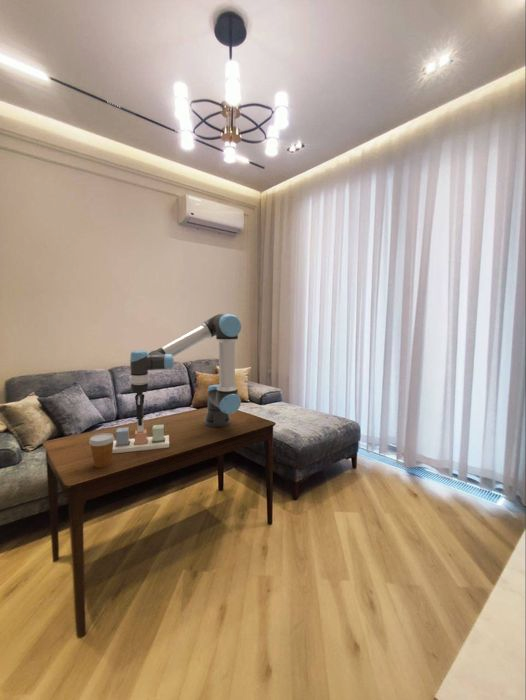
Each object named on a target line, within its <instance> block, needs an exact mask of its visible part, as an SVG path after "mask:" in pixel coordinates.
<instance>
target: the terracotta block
mask: <svg viewBox="0 0 526 700" xmlns="http://www.w3.org/2000/svg"><path fill="white" fill-rule="evenodd" d="M134 431H135V432H134V438H135V445H141V444H146V443H147V437H148V435H147V432H148V431H147V429H146V428H144V431H143V432H137V429H135V430H134Z"/></svg>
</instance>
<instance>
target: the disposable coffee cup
mask: <svg viewBox="0 0 526 700" xmlns="http://www.w3.org/2000/svg"><path fill="white" fill-rule="evenodd" d="M114 440H116V437H115V436H114V434H113V433H111V432H110V433H109V432H103V433H97V434H95V435H92V436H90V438H89V441H88V443H89V445H90V450H91V455H92V460H93V463H94V467H95V468H100V469H101V468H106V467H108V466H111V464H112V458H113V454H112V450H113V441H114Z"/></svg>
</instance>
